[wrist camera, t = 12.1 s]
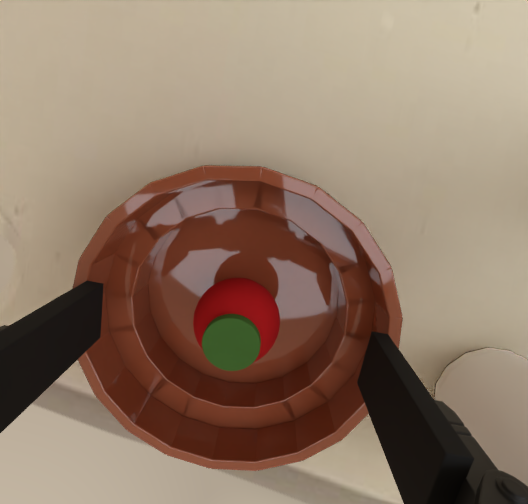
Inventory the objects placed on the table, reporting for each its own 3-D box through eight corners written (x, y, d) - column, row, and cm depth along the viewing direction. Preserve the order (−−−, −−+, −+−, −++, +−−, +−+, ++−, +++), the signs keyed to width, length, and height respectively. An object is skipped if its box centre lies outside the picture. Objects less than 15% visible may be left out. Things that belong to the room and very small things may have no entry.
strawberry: (190, 290, 19) (160, 332, 14) (251, 250, 19) (242, 278, 14) (234, 346, 20) (220, 405, 15) (293, 309, 19) (300, 357, 14)
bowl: (68, 265, 20) (1, 295, 15) (276, 109, 17) (276, 85, 12) (218, 440, 22) (202, 514, 18) (415, 327, 20) (461, 376, 15)
